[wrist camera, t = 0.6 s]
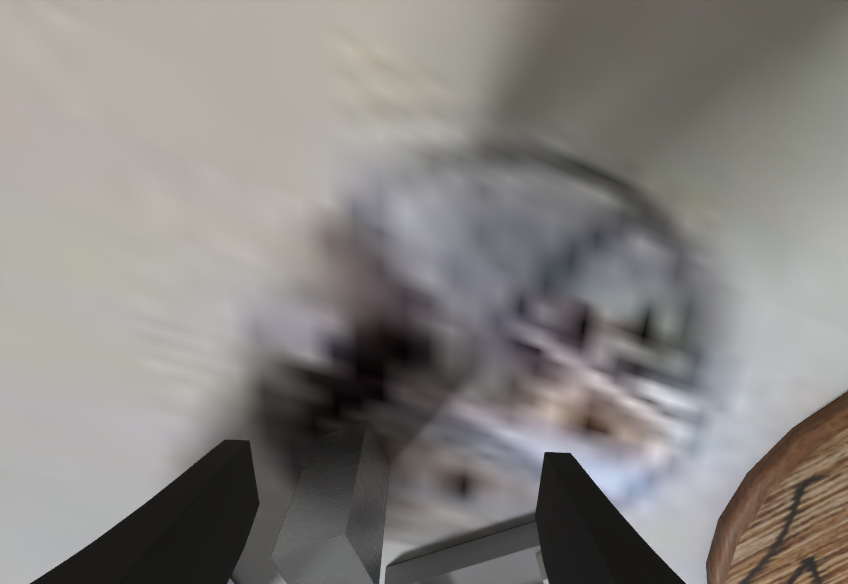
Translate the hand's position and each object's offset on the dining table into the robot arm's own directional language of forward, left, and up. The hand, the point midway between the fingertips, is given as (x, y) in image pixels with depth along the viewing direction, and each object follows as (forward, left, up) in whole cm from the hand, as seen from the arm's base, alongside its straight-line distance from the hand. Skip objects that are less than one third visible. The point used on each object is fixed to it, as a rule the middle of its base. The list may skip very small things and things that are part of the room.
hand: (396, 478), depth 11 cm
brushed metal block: (-5, -6, -11) cm, 13 cm away
